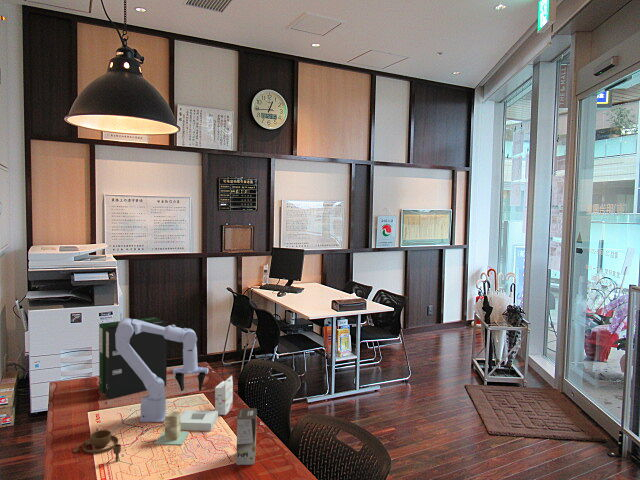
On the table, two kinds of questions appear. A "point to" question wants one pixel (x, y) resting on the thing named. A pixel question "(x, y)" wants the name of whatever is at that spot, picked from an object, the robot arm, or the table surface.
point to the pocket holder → (198, 420)
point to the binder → (114, 368)
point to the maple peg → (172, 425)
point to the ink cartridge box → (224, 397)
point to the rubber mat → (179, 441)
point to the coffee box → (246, 436)
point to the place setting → (101, 443)
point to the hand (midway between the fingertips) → (191, 390)
